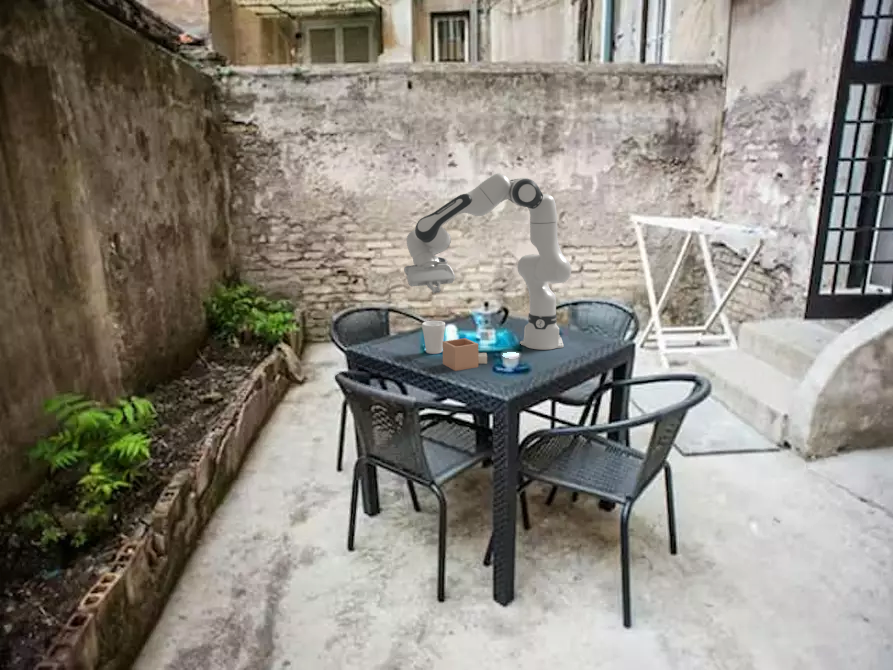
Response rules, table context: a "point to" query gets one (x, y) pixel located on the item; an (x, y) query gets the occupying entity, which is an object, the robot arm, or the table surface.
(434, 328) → the foam cup
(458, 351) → the planter
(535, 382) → the table surface
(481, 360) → the limestone block
